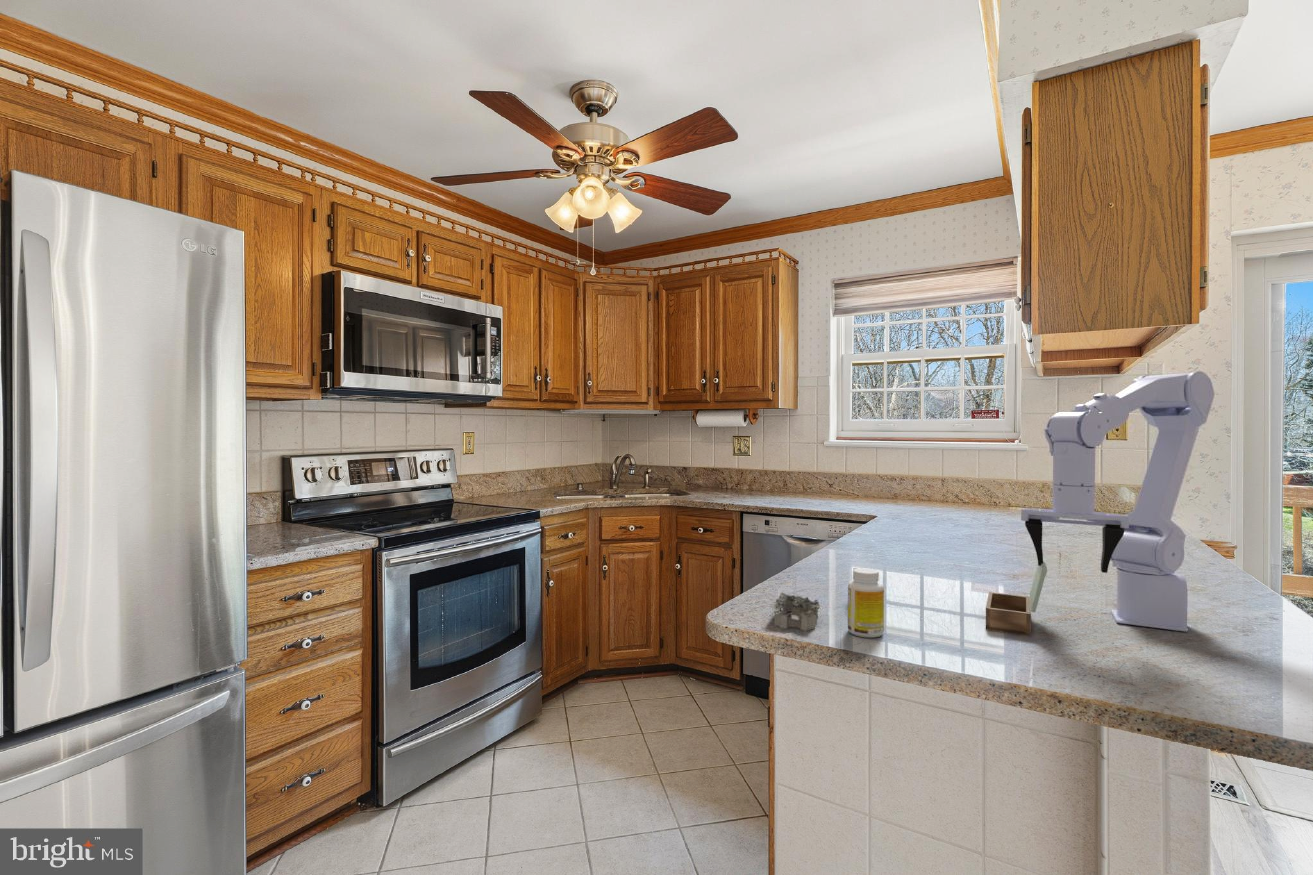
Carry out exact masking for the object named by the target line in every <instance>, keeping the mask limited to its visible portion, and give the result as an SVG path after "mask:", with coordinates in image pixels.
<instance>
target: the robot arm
mask: <svg viewBox="0 0 1313 875" xmlns="http://www.w3.org/2000/svg"><path fill="white" fill-rule="evenodd" d="M1092 398H1093V399H1092V400H1089V401H1088V402H1085V403H1084V404H1083V403H1081V404H1080V403H1079V404H1077V405H1075V406H1074V409H1072V410H1071V411H1064V412H1063V411H1062V412H1057V413H1055V414H1054V415H1052V416H1051V417H1050V418H1049V419H1048V420H1047V424H1046V427H1045V428H1044V435H1045V439H1046V441H1047V442H1048V444H1049V445H1048V446H1049V453H1050V456H1052V460H1053V461H1052V498H1051V499H1052V501H1051V502H1052V503H1051V504H1052V507H1051V508H1052V509H1049V508H1028V507H1027V508H1025V507H1024V508H1023V507H1022V508H1021V511H1020V514H1021V515H1020V521H1022V522H1024V526H1025V528H1026V530H1027V531H1028V534H1029V536H1030V539H1031V541H1032V544H1033V547H1034V549H1035V554H1036V558H1037V566H1041V564H1042V563H1043V556H1044V553H1043V522H1045V523H1057V524H1058V523H1061V524H1069V525H1070V524H1071V525H1084V526H1085V525H1087V526H1097V527H1098V526H1100V527H1102V531H1101V532H1102V536H1101V538H1102V540H1101V541H1102V548H1101V549H1102V551H1101V560H1100V571H1101V573H1103V574H1107V573H1108V570H1109V565H1110V562H1112V567H1113V568H1116V609H1114V608H1113V609H1111V610H1110V612H1111V614H1112V616H1113V618H1114V621H1116V623H1118V624H1123V625H1124V624H1126V625H1133V626H1140V627H1149V628H1156V629H1162V630H1172V631H1177V632H1179V631H1180V632H1186V633H1187V632H1188V631H1189V628H1188V598H1189V597H1188V585H1187V579H1186V577H1185V575H1184V574H1182V573H1175V572H1176V571H1177V570H1178V569H1180V567H1181V566H1182V564H1183V562H1184V559H1185V541H1186V534H1185V532H1184V531H1183V530H1182V528H1180V527H1179V525H1177V524H1176V523H1175V522H1174V521H1172V517H1173V514H1174V510H1175V508H1176V504H1177V502H1178V498H1179V496H1180V491H1181V488H1182V485H1183V481H1184V478H1185V475H1186V472H1187V469H1188V465H1189V462H1190V459H1191V457H1192V452H1193V449H1194V446H1195V442H1196V440H1197V436H1198V433H1199V429H1200V427H1201V426H1203V425H1205V424H1206V422H1207V420H1208V417H1209V414H1210V411H1211V408H1212V406H1213V405H1212V404H1213V401H1214V398H1215V389H1214V386H1213V382H1212V380H1211V377H1209V376H1208V375H1207V373H1205V372H1204V371H1201V370H1196V371H1193V372H1192V371H1191V372H1182V373H1171V374H1169V373H1167V374H1155V375H1149V374H1144V375H1140V376H1139V377H1135V378H1134V379H1132V383H1131V384H1130V385H1128V386H1127V387H1126V388H1124V389H1123V390H1121V391H1120V392H1118V393H1116V394H1111V393H1109V394H1108V393H1107V392H1103V393H1096V394H1094V395H1093V396H1092ZM1137 410H1139V412H1141V415H1142V416H1143V418H1144V419H1145V421H1146V423H1147V424H1148V425H1151V426H1153V427H1154V428H1157V430H1158V433H1157V437H1156V439H1155V443H1154V446H1153V449H1152V452H1151V455H1150V458H1149V461H1148V465H1147V468H1146V470H1145V474H1144V477H1143V481H1142V483H1141V487H1140V490H1139V492H1138V496H1137V499H1136V503H1135V506H1134V508H1133V510H1132V511H1129V513H1126V514H1116V513H1107V512H1097V511H1095V502H1096V501H1095V497H1096V496H1095V493H1096V491H1095V490H1096V486H1095V485H1096V447H1099V446H1100V445H1101V444H1102V443H1103V442H1104V439H1105V437H1106V435H1107V434H1109V432H1111V431H1113V430H1114V429H1116V428H1118V427H1120V426H1122V425H1124V424H1125V423H1126V422H1127V420H1129V417H1130V413H1131V412H1134V411H1137ZM1071 519H1072V520H1071ZM1084 520H1085V521H1084Z"/></svg>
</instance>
